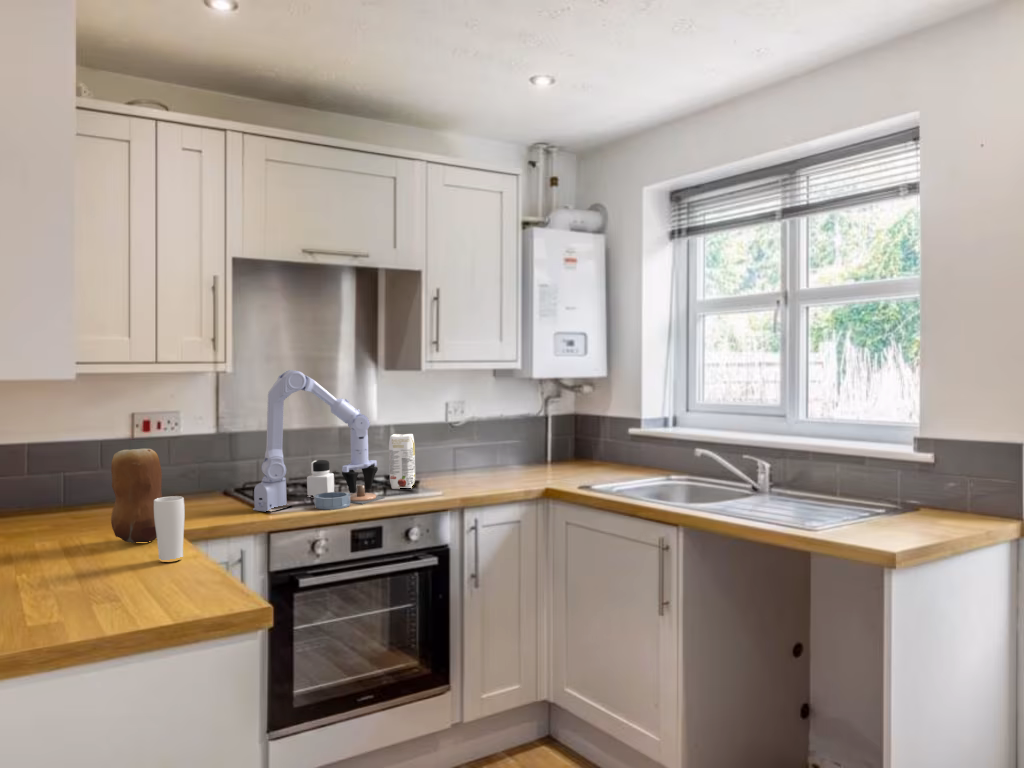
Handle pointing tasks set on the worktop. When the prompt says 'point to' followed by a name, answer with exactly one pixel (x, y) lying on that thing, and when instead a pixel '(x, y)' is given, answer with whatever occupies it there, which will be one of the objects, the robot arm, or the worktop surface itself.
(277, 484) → the robot arm
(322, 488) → the medicine bottle
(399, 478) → the juice carton
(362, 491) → the lid
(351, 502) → the mat
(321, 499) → the bowl
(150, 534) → the butternut squash
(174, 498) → the drinking glass
